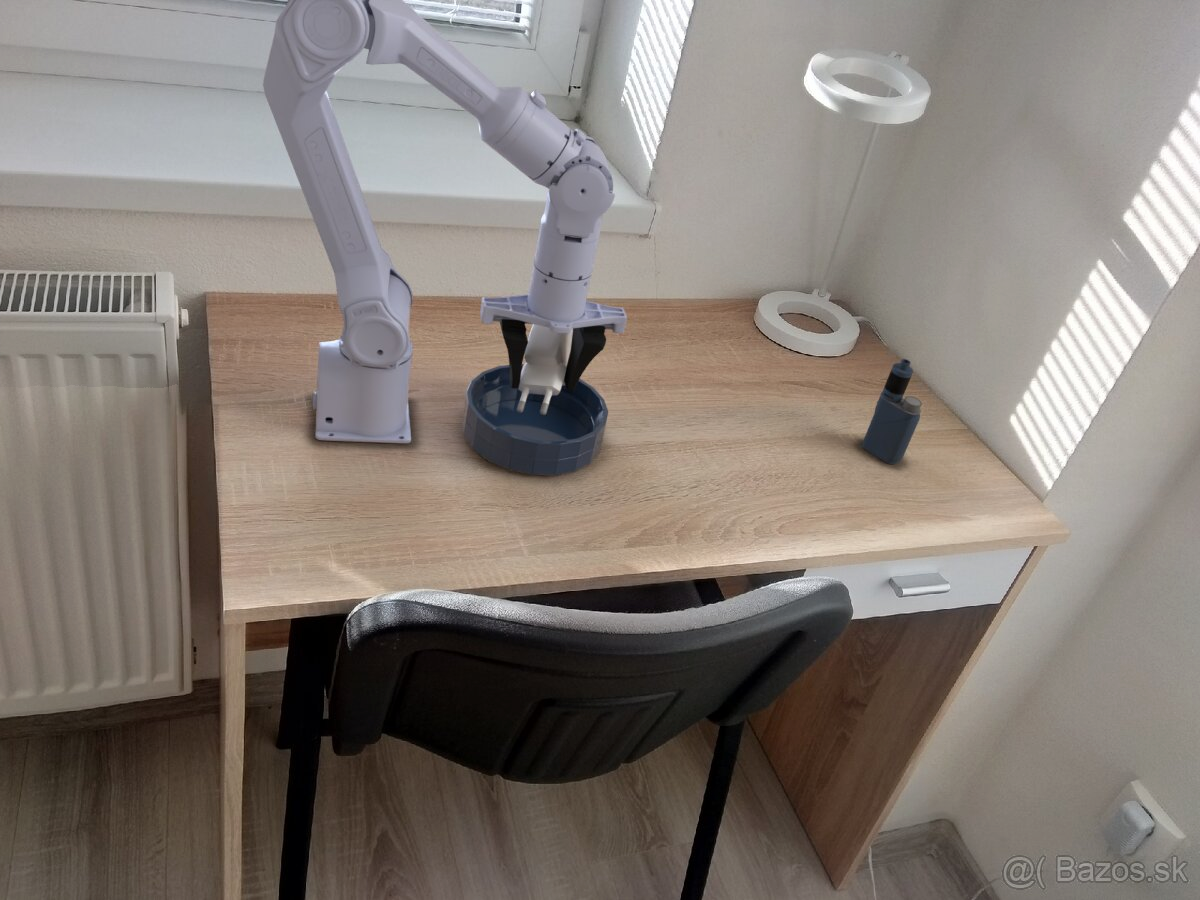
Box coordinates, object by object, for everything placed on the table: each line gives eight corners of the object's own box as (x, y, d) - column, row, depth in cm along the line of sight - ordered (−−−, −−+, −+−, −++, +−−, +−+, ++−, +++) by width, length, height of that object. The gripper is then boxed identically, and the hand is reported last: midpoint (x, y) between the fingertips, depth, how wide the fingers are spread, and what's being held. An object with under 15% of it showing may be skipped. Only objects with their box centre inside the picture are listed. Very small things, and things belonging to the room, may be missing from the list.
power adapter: (560, 432, 109) (546, 402, 104) (517, 428, 111) (501, 398, 106) (585, 345, 114) (573, 312, 109) (544, 342, 116) (530, 310, 111)
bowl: (469, 476, 105) (474, 440, 102) (456, 394, 117) (460, 360, 114) (612, 481, 109) (621, 446, 106) (585, 401, 121) (593, 368, 118)
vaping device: (867, 438, 126) (902, 353, 119) (904, 461, 123) (942, 375, 116) (856, 445, 124) (890, 358, 117) (893, 468, 121) (930, 381, 115)
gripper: (493, 280, 96) (475, 402, 104) (643, 292, 100) (615, 409, 108) (485, 246, 102) (469, 365, 110) (627, 259, 106) (602, 373, 113)
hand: (541, 385), depth 109 cm, fingers closed on power adapter, 5 cm apart
